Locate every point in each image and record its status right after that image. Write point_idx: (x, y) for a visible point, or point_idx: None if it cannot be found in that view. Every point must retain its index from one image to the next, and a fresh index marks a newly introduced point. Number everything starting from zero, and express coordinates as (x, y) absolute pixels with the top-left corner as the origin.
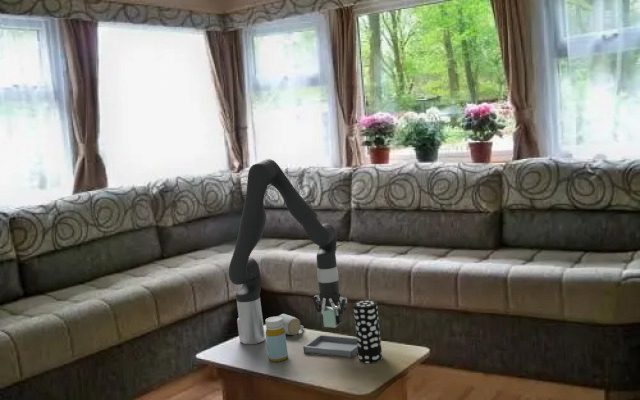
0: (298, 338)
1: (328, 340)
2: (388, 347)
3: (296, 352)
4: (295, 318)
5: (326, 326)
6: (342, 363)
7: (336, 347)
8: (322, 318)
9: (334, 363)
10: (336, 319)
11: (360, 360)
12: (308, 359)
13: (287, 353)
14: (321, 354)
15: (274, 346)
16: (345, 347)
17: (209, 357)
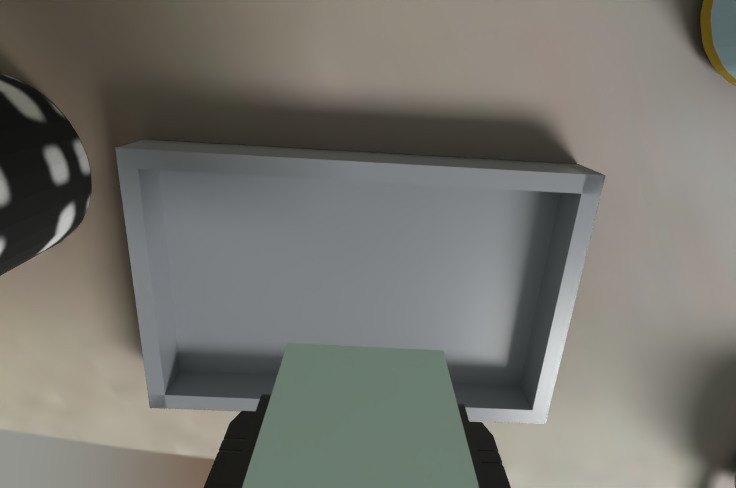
0: (706, 401)
1: (461, 385)
2: (5, 370)
3: (646, 165)
4: None
5: (407, 352)
6: (157, 19)
7: (348, 288)
8: (499, 461)
9: (224, 4)
10: None
11: (23, 87)
12: (491, 42)
13: (719, 33)
14: (416, 155)
15: None
16: (279, 300)
17: None
